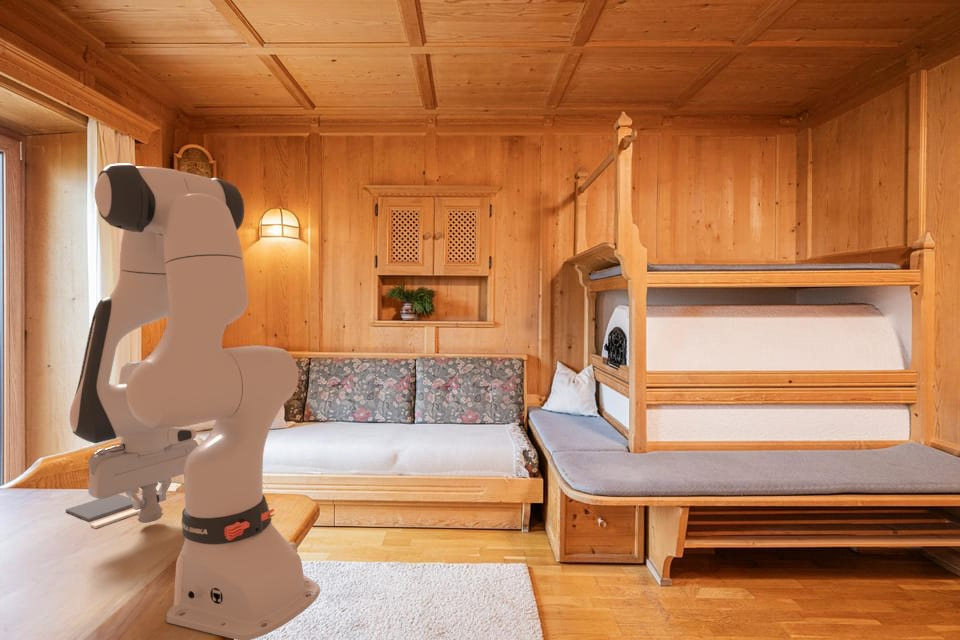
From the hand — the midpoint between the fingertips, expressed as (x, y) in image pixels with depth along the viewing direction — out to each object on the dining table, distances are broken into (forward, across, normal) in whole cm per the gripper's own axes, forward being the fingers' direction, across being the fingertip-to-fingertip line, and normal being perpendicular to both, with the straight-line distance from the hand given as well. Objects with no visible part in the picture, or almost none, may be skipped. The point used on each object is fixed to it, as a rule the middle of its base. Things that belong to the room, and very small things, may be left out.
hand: (149, 504), depth 104 cm
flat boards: (+4, 0, +16) cm, 17 cm away
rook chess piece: (+3, 0, 0) cm, 3 cm away
